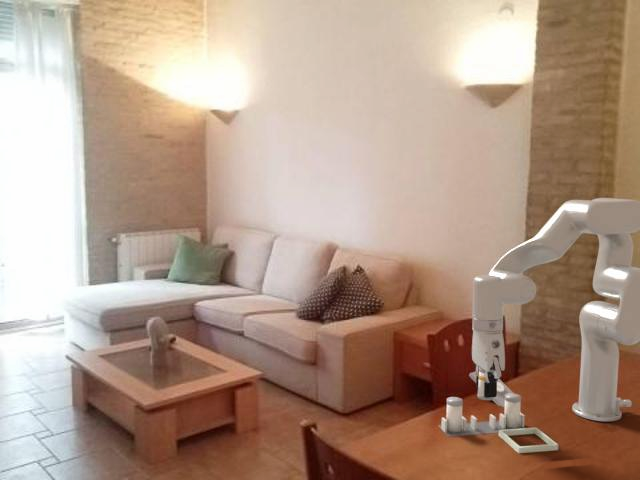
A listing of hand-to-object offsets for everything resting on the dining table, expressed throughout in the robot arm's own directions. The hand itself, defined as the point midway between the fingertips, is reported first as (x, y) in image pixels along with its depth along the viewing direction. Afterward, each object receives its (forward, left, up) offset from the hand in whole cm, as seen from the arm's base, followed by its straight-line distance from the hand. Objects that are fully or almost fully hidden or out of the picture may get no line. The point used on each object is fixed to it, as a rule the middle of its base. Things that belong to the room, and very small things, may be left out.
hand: (486, 393), depth 162 cm
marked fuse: (0, 0, -1) cm, 1 cm away
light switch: (-12, -20, -11) cm, 26 cm away
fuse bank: (+1, 0, -10) cm, 10 cm away
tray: (-6, +10, -10) cm, 16 cm away
